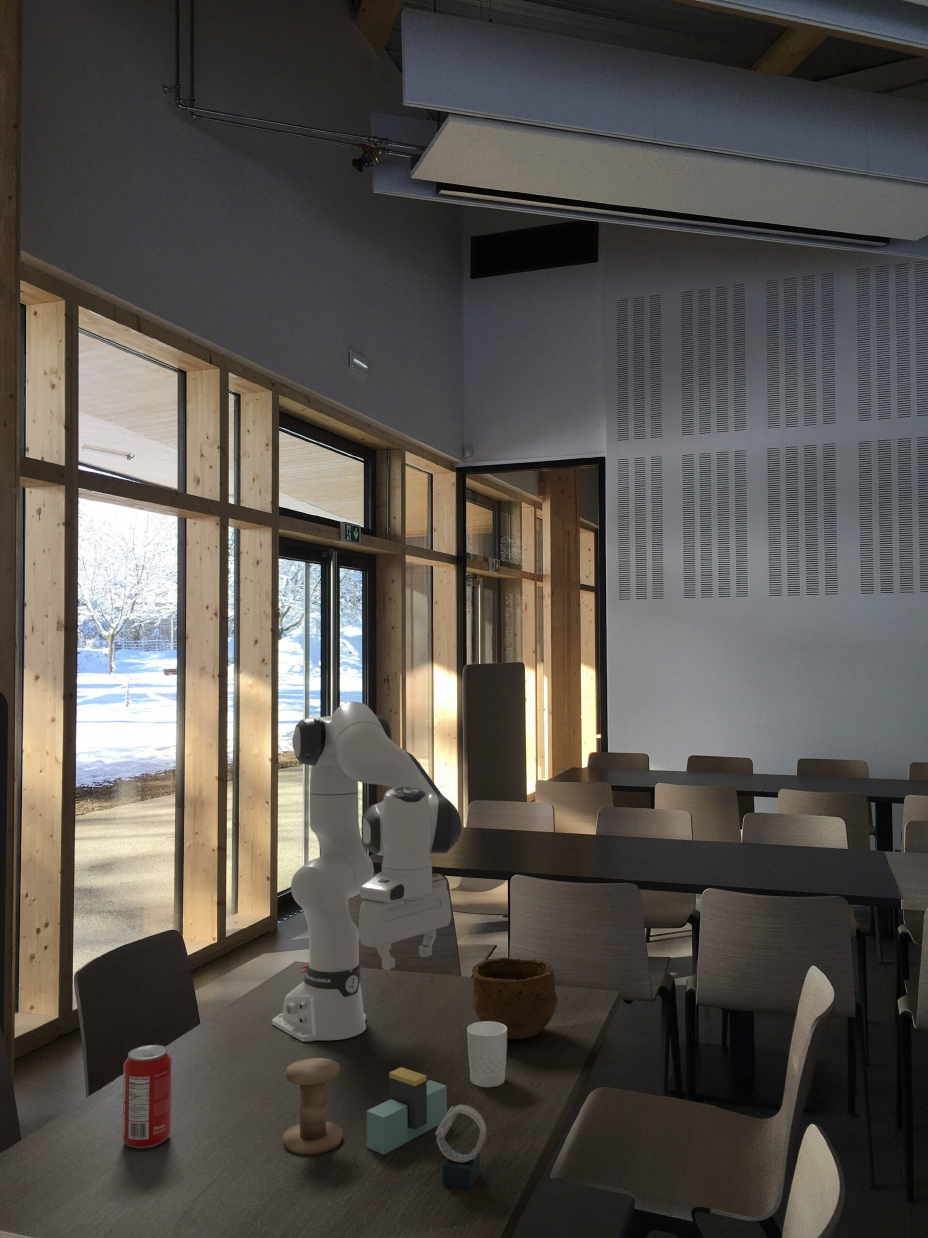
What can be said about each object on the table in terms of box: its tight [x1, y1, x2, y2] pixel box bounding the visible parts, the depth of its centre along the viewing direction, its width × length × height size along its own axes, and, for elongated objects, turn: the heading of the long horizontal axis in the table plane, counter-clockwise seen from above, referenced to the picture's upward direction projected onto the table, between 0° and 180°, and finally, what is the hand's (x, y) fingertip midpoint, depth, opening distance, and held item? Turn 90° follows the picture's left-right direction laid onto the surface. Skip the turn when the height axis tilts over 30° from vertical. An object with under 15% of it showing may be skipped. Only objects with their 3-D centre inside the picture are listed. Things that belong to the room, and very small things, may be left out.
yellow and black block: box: [388, 1066, 428, 1129], centre depth 168 cm, size 6×3×8 cm, turn 51°
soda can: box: [122, 1044, 173, 1150], centre depth 166 cm, size 8×8×15 cm
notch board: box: [366, 1079, 448, 1155], centre depth 168 cm, size 4×16×6 cm, turn 140°
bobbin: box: [282, 1057, 343, 1156], centre depth 166 cm, size 10×10×12 cm
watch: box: [434, 1104, 488, 1191], centre depth 153 cm, size 6×8×11 cm
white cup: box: [466, 1021, 508, 1088], centre depth 190 cm, size 8×8×10 cm
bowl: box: [471, 956, 559, 1040], centre depth 214 cm, size 19×19×15 cm
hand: (407, 962), depth 170 cm, fingers open, 8 cm apart
